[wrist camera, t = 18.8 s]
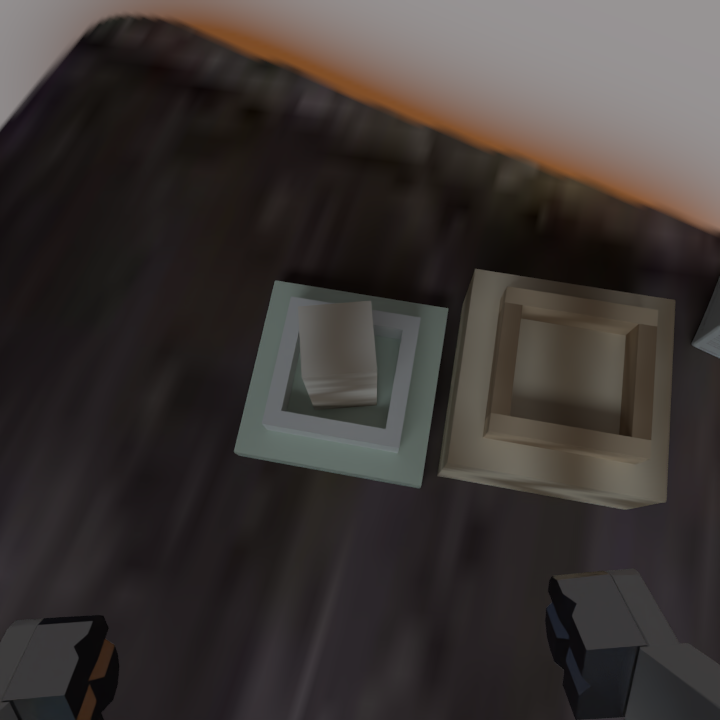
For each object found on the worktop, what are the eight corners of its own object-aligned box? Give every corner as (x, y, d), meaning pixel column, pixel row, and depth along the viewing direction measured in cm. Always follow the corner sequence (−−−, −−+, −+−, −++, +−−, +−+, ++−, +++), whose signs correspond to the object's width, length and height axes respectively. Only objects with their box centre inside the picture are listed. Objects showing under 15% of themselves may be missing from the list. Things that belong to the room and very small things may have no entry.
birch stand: (437, 475, 42) (451, 457, 34) (462, 305, 45) (480, 254, 38) (625, 509, 41) (683, 498, 33) (636, 333, 44) (691, 286, 37)
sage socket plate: (238, 455, 42) (227, 446, 39) (278, 288, 46) (270, 267, 43) (419, 488, 42) (423, 482, 38) (446, 316, 45) (451, 296, 42)
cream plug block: (314, 410, 42) (301, 377, 34) (311, 351, 43) (297, 306, 35) (376, 405, 42) (377, 371, 34) (371, 346, 43) (371, 300, 35)
